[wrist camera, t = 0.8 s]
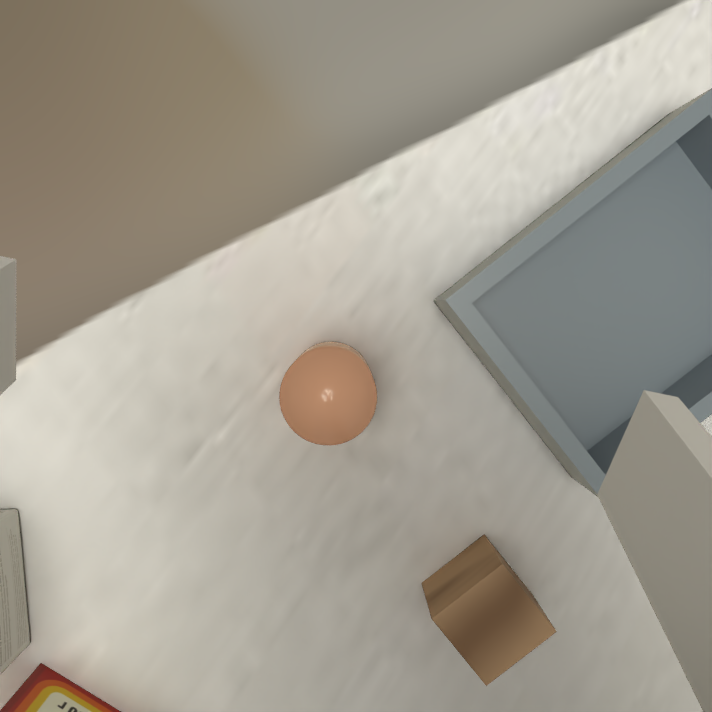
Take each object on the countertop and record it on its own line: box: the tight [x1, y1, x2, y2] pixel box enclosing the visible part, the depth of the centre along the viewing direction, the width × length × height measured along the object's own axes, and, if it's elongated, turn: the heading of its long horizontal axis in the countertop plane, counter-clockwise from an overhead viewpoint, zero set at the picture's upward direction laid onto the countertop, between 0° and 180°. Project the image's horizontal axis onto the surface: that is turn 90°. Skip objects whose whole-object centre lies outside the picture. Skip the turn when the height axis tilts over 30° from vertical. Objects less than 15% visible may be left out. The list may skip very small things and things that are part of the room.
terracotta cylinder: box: [279, 342, 377, 445], centre depth 38 cm, size 5×5×7 cm
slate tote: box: [434, 88, 712, 497], centre depth 39 cm, size 14×18×5 cm
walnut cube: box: [422, 535, 556, 686], centre depth 41 cm, size 5×5×5 cm
